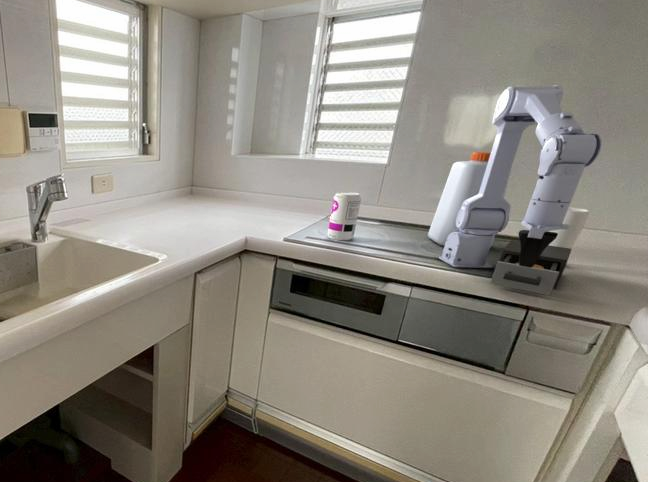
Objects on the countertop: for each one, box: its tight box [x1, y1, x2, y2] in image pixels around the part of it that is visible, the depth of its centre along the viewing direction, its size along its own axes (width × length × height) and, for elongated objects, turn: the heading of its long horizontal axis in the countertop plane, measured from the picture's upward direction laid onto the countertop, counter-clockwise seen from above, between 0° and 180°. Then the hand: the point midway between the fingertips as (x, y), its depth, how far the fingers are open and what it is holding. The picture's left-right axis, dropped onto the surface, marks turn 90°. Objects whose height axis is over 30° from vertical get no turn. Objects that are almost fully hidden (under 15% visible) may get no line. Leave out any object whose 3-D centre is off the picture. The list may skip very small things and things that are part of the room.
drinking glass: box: [548, 206, 590, 250], centre depth 109 cm, size 7×7×15 cm
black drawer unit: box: [498, 239, 572, 290], centre depth 101 cm, size 14×12×7 cm
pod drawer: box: [490, 254, 559, 296], centre depth 93 cm, size 17×10×5 cm, turn 133°
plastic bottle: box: [427, 151, 512, 248], centre depth 126 cm, size 15×15×28 cm
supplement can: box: [327, 191, 362, 241], centre depth 135 cm, size 8×8×15 cm
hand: (525, 266), depth 84 cm, fingers closed
